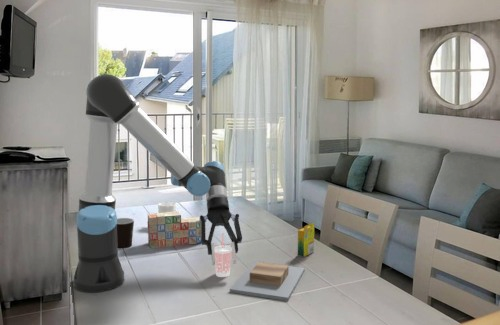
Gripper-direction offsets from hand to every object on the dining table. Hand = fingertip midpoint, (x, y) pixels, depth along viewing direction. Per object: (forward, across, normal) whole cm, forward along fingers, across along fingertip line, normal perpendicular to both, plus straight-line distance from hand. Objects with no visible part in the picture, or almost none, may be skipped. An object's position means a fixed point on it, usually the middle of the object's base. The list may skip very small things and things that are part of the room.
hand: (224, 262), depth 147 cm
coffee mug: (-24, +33, -32) cm, 52 cm away
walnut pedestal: (+7, -14, -1) cm, 16 cm away
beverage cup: (+1, 0, -6) cm, 7 cm away
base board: (+7, -14, -1) cm, 16 cm away
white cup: (-41, +16, -49) cm, 66 cm away
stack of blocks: (-23, +14, -32) cm, 41 cm away
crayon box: (-9, -34, -16) cm, 38 cm away
